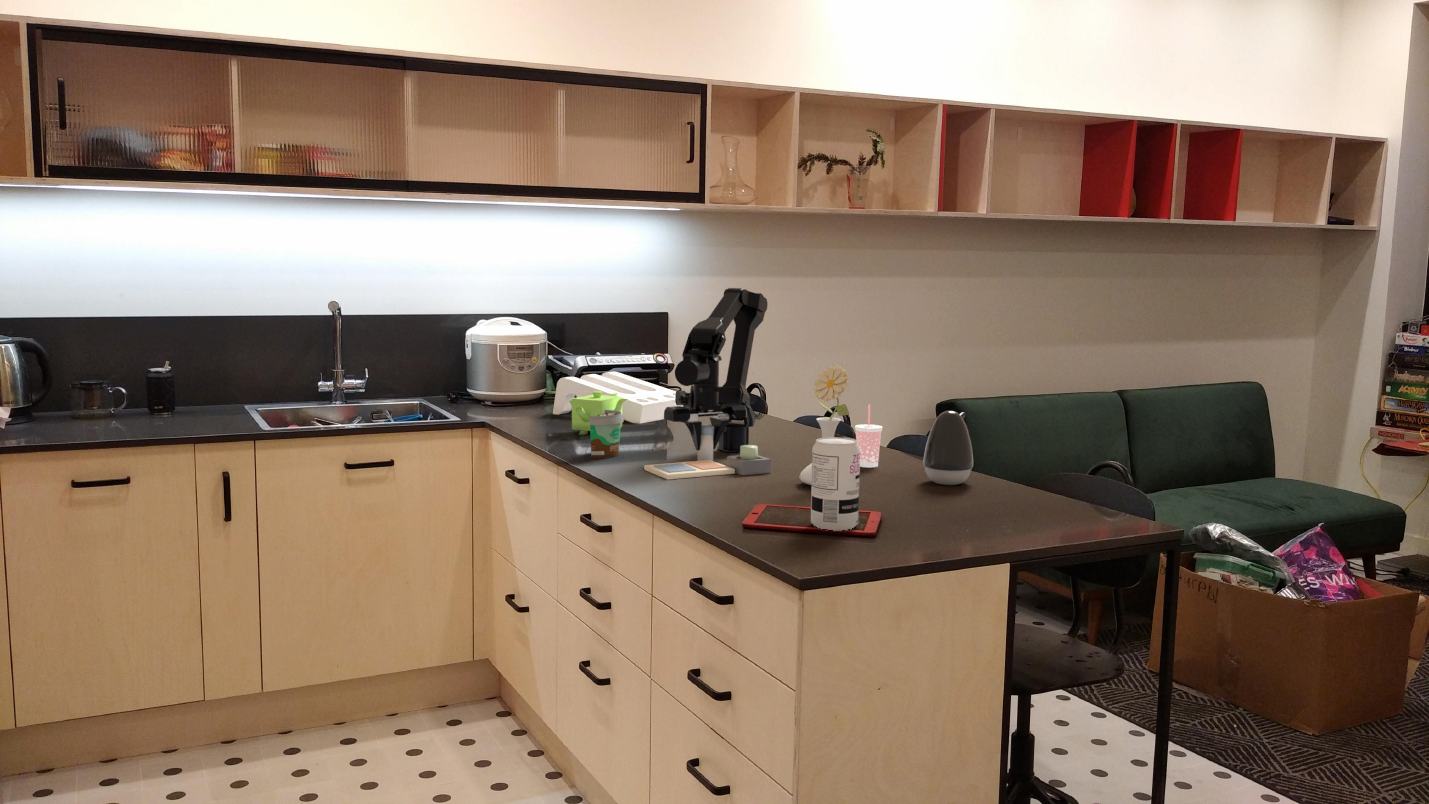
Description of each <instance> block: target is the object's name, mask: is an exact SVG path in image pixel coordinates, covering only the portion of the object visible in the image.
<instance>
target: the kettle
mask: <svg viewBox="0 0 1429 804" xmlns="http://www.w3.org/2000/svg"><path fill="white" fill-rule="evenodd" d="M592 393H593V395H589V396H583V397H578V398H577V397H574V398H573V399H572V400H571V401H569V402H570V404H571V405H572V410H571V430H575V431H579V433H578V435H582V436H585V435H588V433H589V432H590V425H589V420H590V416H597V415H602V414H604V410H615V411H620V412H621V414H622V404H623V403H624V402H625V401H626V400H628V399H622V397H620V396H617V394H618V393H613V394H612V395H611V396H606V395H602V392H600V391H594V392H592ZM621 428H623V422H622V423H621Z"/></svg>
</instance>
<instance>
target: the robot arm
mask: <svg viewBox="0 0 1429 804" xmlns="http://www.w3.org/2000/svg"><path fill="white" fill-rule="evenodd" d="M768 305H769V304H768V299H767V298H766V297H765V296H764V294H763V293H762V292H753V291H749V290H747V289H745V288H744V287H743V288H742V287H741V288H740V287H728V288H726V289H724V291H723V295H722V298H721V299H720V300H719V301H718V303H717V304H716V306H715V308H714V309H713V310H712V311H711V313H710V315H709V316H708V317H707V318H706V319H703V320H701V321H698V322H697V323H696V324H695V325H694V326H693V327H692V329H691V330H690V332H689V334H688V336H687V339H686V343H685V345H684V347H683V348H684V349H683V350H682V355H681V356H682V360H681V361H679V362H678V363H677V365H676V367H675V369H674V377H675V379H676V381H677V382H678V383H679V384H680V385H681V386H683V387H684V386H685V387H689V386H690V391H689V392H686V390H677V391H676V394H675V401H676V405H677V406H673V407H666V409H665V411H664V419H663V420H668V421H670V422H673V423H678V422H679V423H683V424H684V425H685V426H686V427H687V429H688V431H689V433H690V436H691V439H692V442H693V446H694V448H695V450H696V451H697V452H698V451H699V450H700V445H701V427H702V425H703V423H702V421H699V417H709V421H710V425H714V434H713V450H715V449H716V448H717V450H719V451H723V452H726V453H740V446H742V445H750V442H749V441H750V428H752V427H754V426H755V423H756V415H755V413H754V411H753V408H752V407H751V403H750V402H751V397H750V395H749V392H748V390H747V387H746V385H747V378H748V374H749V367H750V362H751V356H752V355H751V354H752V350H753V343H754V337H755V331H756V329H757V328H758V327H759V326H760V325H761V323H763V321H764V320H765V319H764V318H765V314H766V312H767V310H768ZM732 322H734V325H735V329H734V331H733V332H734V333H733V339H732V346H731V351H730V356H729V361H728V367H727V372H726V373H727V374H726V380H725V382H724V383H723V385H722V386H719V385H720V384H719V383H720V382H719V381H720V380H719V378H720V377H719V376H720V373H719V372H720V363H719V362H721V361H722V359H723V358H722V356H721V355H720V354H721V352H722V349H723V348H724V347H725V344H726V341H727V338H726V331H727V329H728V328H729V326H730V325H731V323H732ZM678 405H683V407H682V406H678ZM717 445H718V446H717Z"/></svg>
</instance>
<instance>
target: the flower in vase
mask: <svg viewBox="0 0 1429 804" xmlns="http://www.w3.org/2000/svg"><path fill="white" fill-rule="evenodd" d="M848 385H849V373H848V372H847V370H846V369H845V368H842V367H841V366H839V365H836V366H834V367H833V366H829V367H828V368H827V369H823V370H822V373H819V374H818V375H817V379H815V381H814V386H813V387H814V389H813V390H814V391H815V392H814V393H813V394H814V396H815V397H816V398H817V399H818V403H819V406H820V407H822V408H823V409H825V410H826V411H828V412H829V413H831V416H830V417H827V416H825V417H817V418H816V421H817V423H818V425H819V427H820V430H821V438H828V437H835V433H836V430H837V426H838V425H839V423H840V422H841V420H842V419H841V418H838V417H834V415H835V414H836V413H837V416H839V417H843V416H847V415H851V414H850V411H849V409H848V406H847V405H846V403H842V404H840V401H839V397H841V396H842V393H844V392H845V390H846V388H847V387H848ZM831 399H832V400H833V401H834V400H836V407H835V409H834V410H832V409H831V408H829V407H827V406H826V405H825V404H823V403H826V402H830V401H831ZM822 402H823V403H822ZM839 404H840V405H839ZM798 477H799V479H800V481H801V482H803V483H805V485H806V484H807V485H810V486H812V462H811V463H809V465H807V466H806V467H805V468H803V470H802V471H800V474H799V476H798Z"/></svg>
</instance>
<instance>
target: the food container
mask: <svg viewBox="0 0 1429 804" xmlns="http://www.w3.org/2000/svg"><path fill="white" fill-rule="evenodd" d="M624 421H625V420H624V419H623V415H622V414H621V412H620V411H615V410H604V414H602V415H597V416H590V420H589V425H590V431H589V432H590V455H591V456H590V458H591V459H608V458H615V457H618V456H619V454H620V452H619V451H620V443H621V442H620V441H621V428H622V427H621V423H622V424H623V423H624Z"/></svg>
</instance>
